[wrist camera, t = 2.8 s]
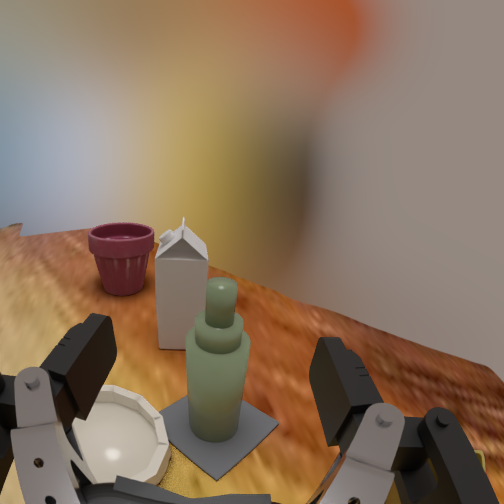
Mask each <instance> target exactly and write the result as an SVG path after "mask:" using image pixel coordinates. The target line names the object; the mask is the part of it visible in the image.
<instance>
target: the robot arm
mask: <svg viewBox="0 0 504 504" xmlns="http://www.w3.org/2000/svg"><path fill="white" fill-rule="evenodd" d="M116 356H117V347H116V341H115V336H114V331H113V325H112V320H111V318H110V317H109V316H105V315H100V314H95V313H92V314H90V315H89V317H88V318H87V319H86V320H85V321H84V323H79V324H77V325H76V326H74V327H72V328H71V329H69V331H68V332H67V333H66V334H65V335H64V337H63V338H62V339H61V340H60V341H59V343H58V345H56V346H55V348H54V349H53V350H52V351H51V353H50V354H49V355H48V357H47V358H46V359H45V360H44V362H43V363H42V364H41V366H40V367H29V368H26V369H24V370H22V371H21V372H19V373H18V375H17V376H9V375H2V374H1V373H0V494H1V491H2V488H3V485H4V483H5V480H6V477H7V474H8V472H9V469H10V467H11V464H12V462H13V459H14V460H15V465H16V470H17V474H18V479H19V483H20V487H21V490H22V494H23V497H24V501H25V504H280V503H276V502H271V496H270V494H228V495H221V496H213V497H205V498H187V497H184V496H181V495H178V494H176V493H173V492H170V491H168V490H165V489H163V488H161V487H158V486H156V485H154V484H150V483H146V482H141V481H137V480H133V479H129V478H126V477H122V476H119V475H117V476H116V480H115V483H114V482H105V483H98V482H97V481H96V479H95V477H94V475H93V474H92V472H91V470H90V469H89V467H88V464H87V462H86V459H85V457H84V454H83V451H82V449H81V446H80V443H79V440H78V437H77V434H76V431H75V428H74V425H73V424H72V423H73V421H74V419H75V417H76V418H78V419H81V420H84V421H86V419H87V417H88V415H89V413H90V411H91V409H92V407H93V405H94V402H95V400H96V398H97V396H98V394H99V392H100V390H101V388H102V386H103V384H104V382H105V380H106V378H107V376H108V374H109V372H110V371H111V369H112V367H113V365H114V363H115V360H116ZM309 380H310V384H311V388H312V391H313V395H314V398H315V402H316V405H317V409H318V412H319V416H320V420H321V423H322V427H323V430H324V434H325V438H326V441H327V445H328V447H329V446H337V445H339V448H340V452H339V454H338V455H337V457H336V459H335V461H334V462H333V464H332V466H331V467H330V469H329V471H328V472H327V474H326V476H325V477H324V479H323V480H322V482H321V484H320V485H319V487H318V488H317V490H316V491H315V493H314V494H313V495H312V496H311V498H310V499H309V500H308V502H307V503H306V504H384V503H385V500H386V498H387V495H388V493H389V490H390V488H391V485H392V483H393V480H394V482H395V485H396V488H397V491H398V495H399V498H400V501H401V504H499V502H498V499H497V497H496V495H495V492H494V490H493V488H492V486H491V484H490V481H489V479H488V477H487V475H486V473H485V471H484V469H483V467H482V465H481V463H480V461H479V459H478V457H477V455H476V453H475V451H474V449H473V447H472V445H471V444H470V442H469V440H468V438H467V436H466V435H465V433H464V431H463V429H462V427H461V426H460V424H459V422H458V420H457V419H456V417H455V416H454V414H453V413H451V412H450V411H449V410H447V409H444V408H440V407H436V408H432V409H430V410H429V411H428V412H427V414H426V415H425V416H424V418H419V417H405V416H403V414H402V412H401V411H400V410H399V409H398V408H396V407H395V406H393V405H391V404H387V403H384V402H383V400H382V398H381V396H380V394H379V392H378V390H377V388H376V386H375V384H374V382H373V381H372V379H371V377H370V376H369V373H368V371H367V369H365V366H364V364H363V362H362V360H361V358H360V357H359V356H358V355H357V354H356V353H354V352H353V351H352V350H346V348H345V346H344V344H343V342H342V340H341V339H340V338H339V337H320V338H319V340H318V343H317V346H316V349H315V353H314V356H313V359H312V362H311V366H310V370H309ZM429 460H431V462H432V465H433V467H434V469H435V472H436V474H437V477H438V485H437V483H436V480H435V478H434V475H433V473H432V470H431V468H430V465H429V463H428V461H429Z"/></svg>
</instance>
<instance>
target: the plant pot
mask: <svg viewBox="0 0 504 504" xmlns="http://www.w3.org/2000/svg"><path fill="white" fill-rule="evenodd" d="M88 242H89V250H90V252H91V253H92V254H94V257H95V261H96V264H97V268H98V271H99V274H100V277H101V280H102V283H103V286H104V289H105V290H106V291H107V292H108V293H110V294H113V295H119V296H126V295H131V294H135V293H137V292H139V291H140V290H141V289H142V287H143V283H144V278H145V273H146V268H147V263H148V257H149V252H150V251H152V249H153V248H154V230H153V229H152V228H151V227H149V226H146V225H142V224H137V223H109V224H104V225H100V226H97V227H95V228H92V229H91V230H90V231H89V232H88Z"/></svg>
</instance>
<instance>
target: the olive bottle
mask: <svg viewBox="0 0 504 504" xmlns="http://www.w3.org/2000/svg"><path fill="white" fill-rule="evenodd" d="M237 288H238V284H237V282H236V281H234V280H232V279H230V278H225V277H214V278H211V279H209V280H208V281H207V284H206V304H205V310H203V311H201V312H200V313H198V314H197V316H196V317H195V326H194V327H193V328H191V329H190V330H189V331H188V333H187V335H186V372H187V394H188V410H189V424H190V428H191V431H192V432H193V433H194V435H196V436H197V437H198V438H200V439H201V440H204V441H207V442H212V443H219V442H224V441H227V440H229V439H230V438H232V437H233V436H234V435H235V433H236V432H237V429H238V423H239V417H240V410H241V404H242V397H243V391H244V384H245V378H246V371H247V364H248V357H249V351H250V344H251V342H250V338H249V336H248V335H247V333H246V332H245V331H243V324H244V321H243V319H242V317H241V316H240V315H239V314H237V313H235V307H236V297H237Z"/></svg>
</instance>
